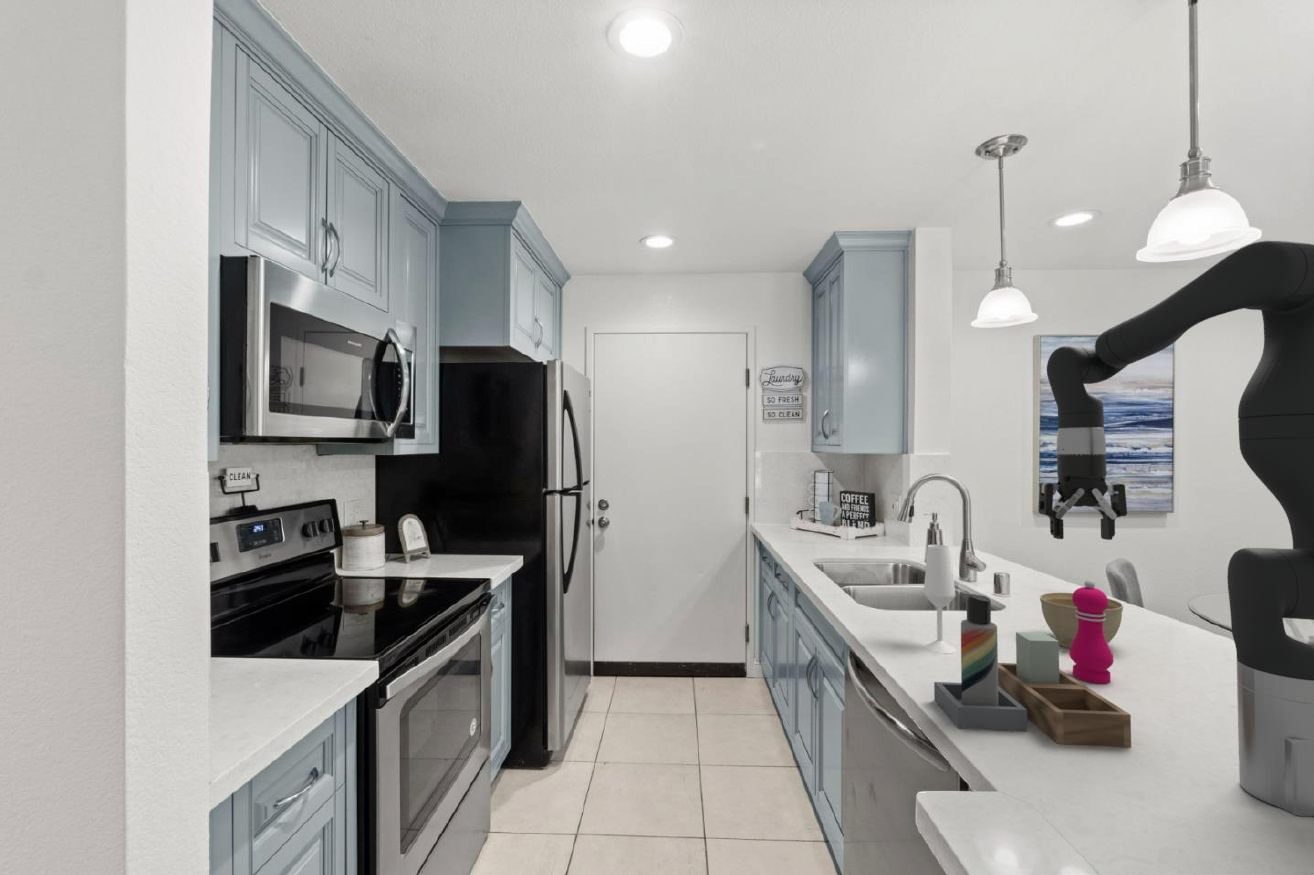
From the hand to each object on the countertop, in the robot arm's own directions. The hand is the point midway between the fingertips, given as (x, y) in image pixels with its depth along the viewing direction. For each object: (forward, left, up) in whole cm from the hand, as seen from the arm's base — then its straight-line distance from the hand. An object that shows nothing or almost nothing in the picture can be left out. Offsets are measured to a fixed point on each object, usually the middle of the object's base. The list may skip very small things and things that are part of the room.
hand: (1082, 538), depth 111 cm
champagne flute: (+28, +16, -30) cm, 44 cm away
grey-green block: (-1, +9, -30) cm, 31 cm away
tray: (-8, +22, -30) cm, 38 cm away
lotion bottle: (-8, +22, -29) cm, 38 cm away
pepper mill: (+12, -8, -30) cm, 34 cm away
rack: (-6, +9, -30) cm, 32 cm away
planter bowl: (+33, -18, -30) cm, 48 cm away
